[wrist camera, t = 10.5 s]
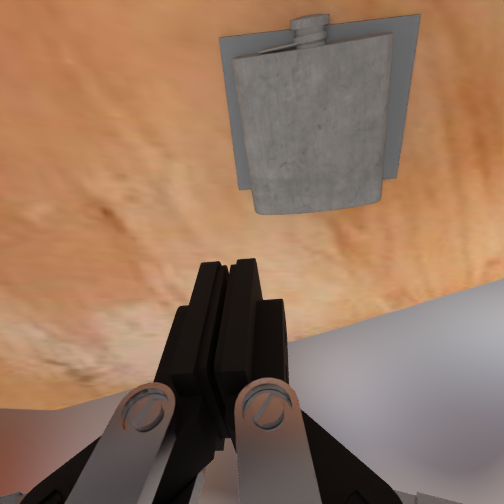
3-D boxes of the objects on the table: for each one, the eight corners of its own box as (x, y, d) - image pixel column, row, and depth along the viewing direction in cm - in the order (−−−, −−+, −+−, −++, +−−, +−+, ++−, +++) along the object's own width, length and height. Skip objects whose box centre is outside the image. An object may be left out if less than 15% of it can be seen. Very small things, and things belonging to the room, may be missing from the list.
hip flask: (377, 191, 44) (390, 0, 33) (386, 205, 41) (404, -1, 29) (255, 204, 46) (228, 28, 35) (254, 219, 43) (223, 30, 31)
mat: (418, 14, 34) (420, 14, 33) (395, 176, 43) (396, 178, 43) (219, 37, 36) (218, 37, 35) (239, 188, 45) (239, 190, 45)
